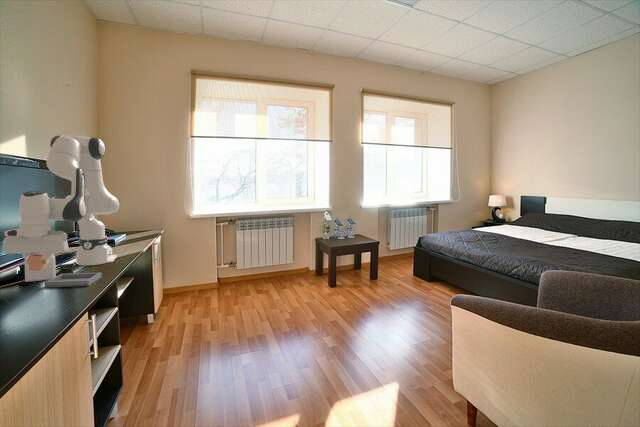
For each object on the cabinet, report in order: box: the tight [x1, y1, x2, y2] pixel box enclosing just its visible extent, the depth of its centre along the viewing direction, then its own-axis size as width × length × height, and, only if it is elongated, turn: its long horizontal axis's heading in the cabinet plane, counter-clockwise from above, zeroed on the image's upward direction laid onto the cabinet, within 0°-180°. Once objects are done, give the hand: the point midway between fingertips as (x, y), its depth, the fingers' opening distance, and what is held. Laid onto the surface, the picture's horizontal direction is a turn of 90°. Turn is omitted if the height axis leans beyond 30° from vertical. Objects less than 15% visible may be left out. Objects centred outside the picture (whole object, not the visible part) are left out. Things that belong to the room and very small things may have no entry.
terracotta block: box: [28, 253, 47, 271], centre depth 117 cm, size 4×4×6 cm
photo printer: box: [24, 253, 57, 283], centre depth 131 cm, size 10×4×12 cm, turn 124°
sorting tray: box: [44, 272, 102, 289], centre depth 130 cm, size 12×16×2 cm
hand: (38, 263), depth 117 cm, fingers closed on terracotta block, 4 cm apart
